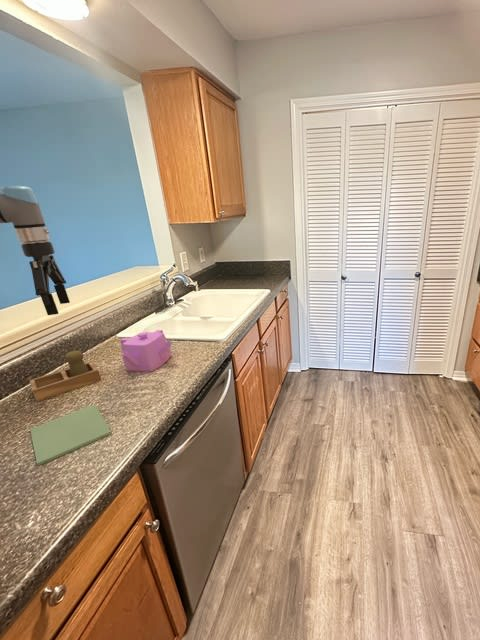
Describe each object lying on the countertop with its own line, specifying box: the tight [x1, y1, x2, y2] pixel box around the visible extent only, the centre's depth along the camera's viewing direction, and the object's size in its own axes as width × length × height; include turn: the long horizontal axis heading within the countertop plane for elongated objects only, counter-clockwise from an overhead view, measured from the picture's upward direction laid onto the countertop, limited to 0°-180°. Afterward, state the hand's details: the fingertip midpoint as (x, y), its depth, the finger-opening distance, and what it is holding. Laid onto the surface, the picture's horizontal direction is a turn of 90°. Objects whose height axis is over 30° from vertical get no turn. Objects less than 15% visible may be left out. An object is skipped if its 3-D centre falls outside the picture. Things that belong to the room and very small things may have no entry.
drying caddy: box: [29, 360, 102, 403], centre depth 110 cm, size 10×18×4 cm, turn 132°
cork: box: [64, 350, 89, 377], centre depth 112 cm, size 6×6×11 cm
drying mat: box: [29, 403, 112, 466], centre depth 87 cm, size 18×16×1 cm
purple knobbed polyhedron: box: [120, 329, 173, 373], centre depth 122 cm, size 17×17×12 cm
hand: (59, 308), depth 107 cm, fingers open, 13 cm apart
